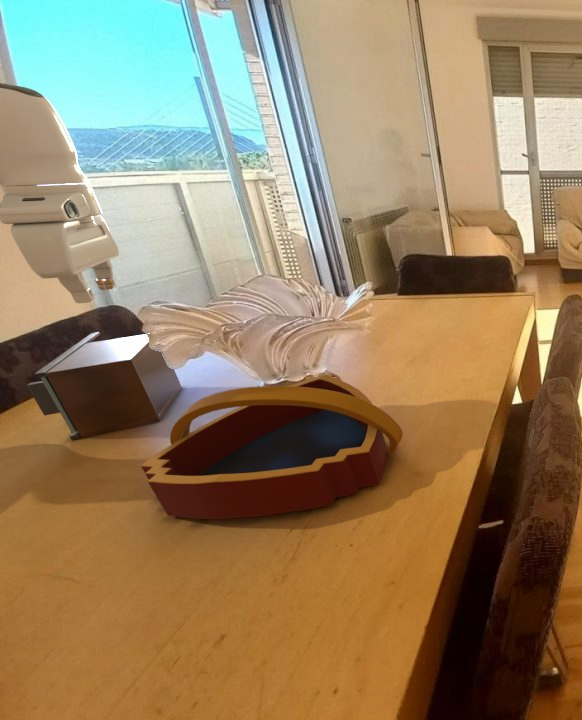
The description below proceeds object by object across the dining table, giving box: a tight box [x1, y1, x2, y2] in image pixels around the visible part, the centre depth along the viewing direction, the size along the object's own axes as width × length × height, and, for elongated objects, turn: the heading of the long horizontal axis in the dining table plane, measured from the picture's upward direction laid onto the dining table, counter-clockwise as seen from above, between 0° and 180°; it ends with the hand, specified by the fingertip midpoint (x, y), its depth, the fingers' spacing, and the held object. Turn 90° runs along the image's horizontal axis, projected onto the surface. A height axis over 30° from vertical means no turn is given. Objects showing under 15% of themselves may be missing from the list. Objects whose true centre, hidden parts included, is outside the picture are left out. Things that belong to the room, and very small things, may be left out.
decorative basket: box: [140, 374, 404, 520], centre depth 73 cm, size 34×29×15 cm
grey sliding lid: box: [26, 375, 77, 434], centre depth 89 cm, size 3×16×11 cm, turn 30°
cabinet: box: [33, 331, 183, 441], centre depth 95 cm, size 12×25×13 cm, turn 30°
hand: (97, 295), depth 76 cm, fingers open, 8 cm apart
